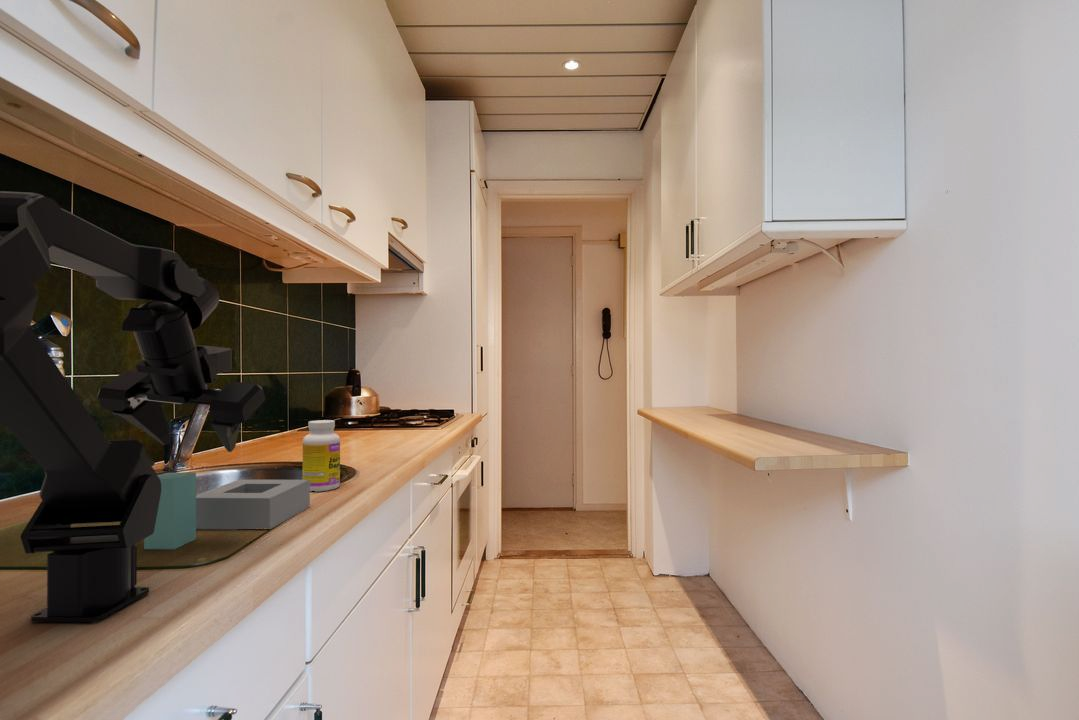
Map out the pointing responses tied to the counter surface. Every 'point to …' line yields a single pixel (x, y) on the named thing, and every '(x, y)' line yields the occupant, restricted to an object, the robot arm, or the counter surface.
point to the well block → (251, 504)
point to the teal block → (174, 512)
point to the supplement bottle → (321, 456)
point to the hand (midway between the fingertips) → (199, 446)
